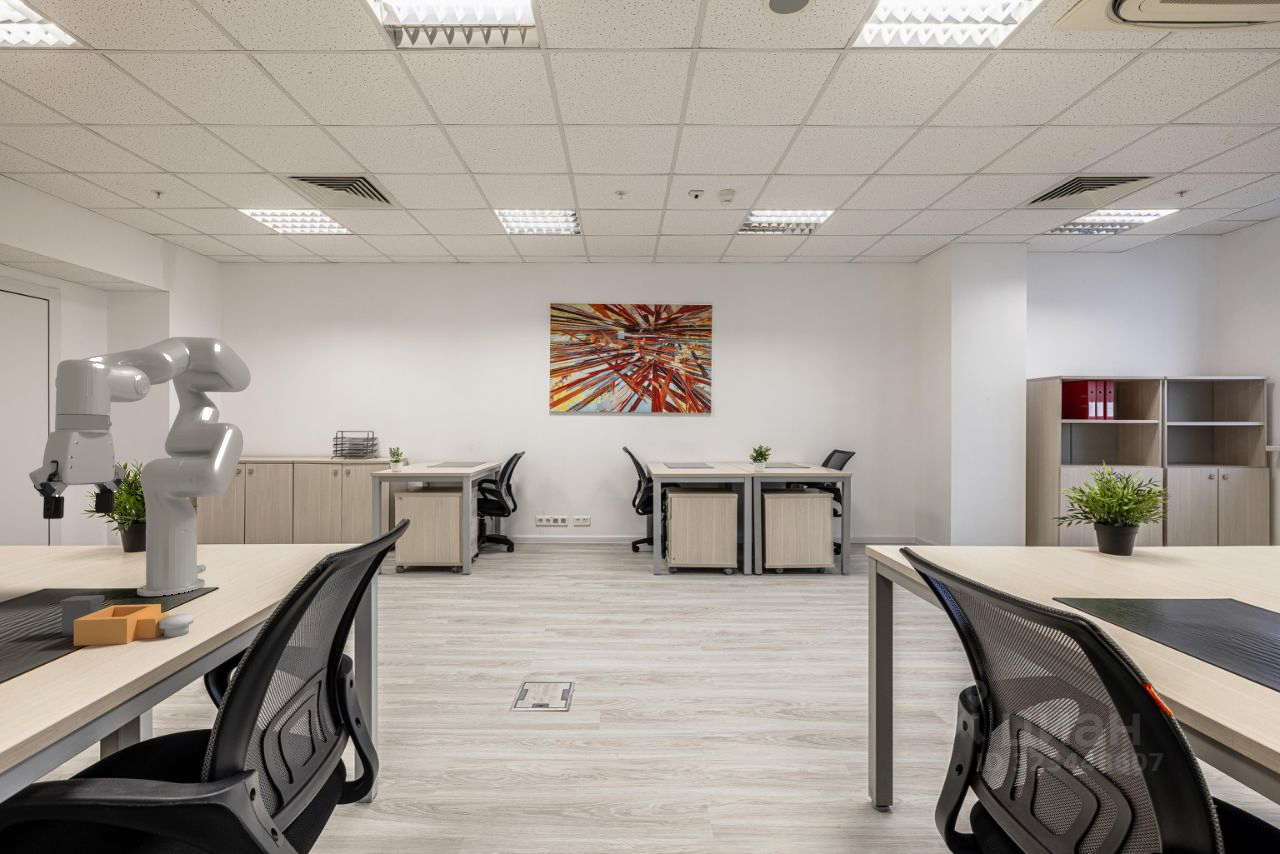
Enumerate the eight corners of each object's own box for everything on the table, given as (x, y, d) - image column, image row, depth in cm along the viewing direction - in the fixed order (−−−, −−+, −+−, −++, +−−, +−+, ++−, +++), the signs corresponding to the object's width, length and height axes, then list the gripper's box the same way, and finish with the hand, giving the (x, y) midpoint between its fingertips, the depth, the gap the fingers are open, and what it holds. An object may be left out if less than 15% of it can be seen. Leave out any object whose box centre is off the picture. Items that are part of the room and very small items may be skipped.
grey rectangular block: (74, 630, 110) (74, 596, 110) (104, 629, 111) (104, 595, 111) (59, 636, 107) (59, 601, 107) (90, 634, 108) (90, 600, 108)
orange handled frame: (73, 645, 102) (73, 620, 102) (112, 628, 111) (112, 605, 111) (175, 641, 104) (175, 616, 104) (205, 625, 113) (205, 602, 113)
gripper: (106, 427, 119) (104, 511, 118) (13, 423, 101) (9, 521, 101) (142, 427, 119) (140, 511, 118) (55, 422, 101) (51, 521, 101)
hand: (80, 515), depth 109 cm, fingers open, 9 cm apart
